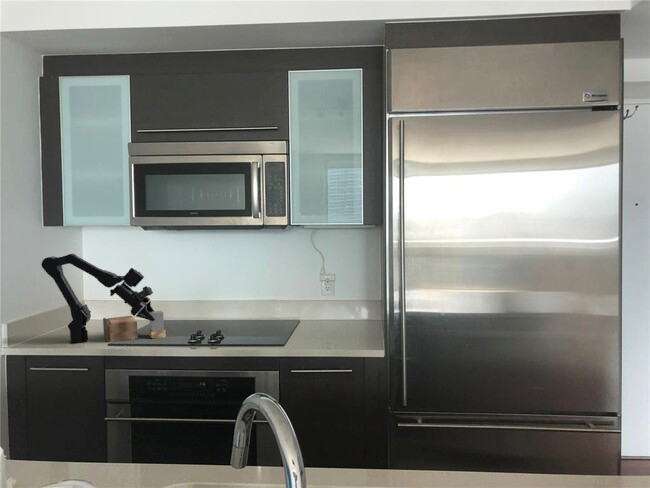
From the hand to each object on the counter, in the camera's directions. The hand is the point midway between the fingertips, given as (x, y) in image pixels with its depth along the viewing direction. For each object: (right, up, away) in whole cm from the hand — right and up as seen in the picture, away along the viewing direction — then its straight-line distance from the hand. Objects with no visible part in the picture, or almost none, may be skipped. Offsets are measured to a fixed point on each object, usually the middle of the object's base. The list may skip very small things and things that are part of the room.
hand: (155, 318), depth 253 cm
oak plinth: (+1, -8, +1) cm, 8 cm away
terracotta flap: (-15, -1, +1) cm, 16 cm away
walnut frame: (-15, -9, +1) cm, 18 cm away
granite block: (+1, -5, 0) cm, 5 cm away
